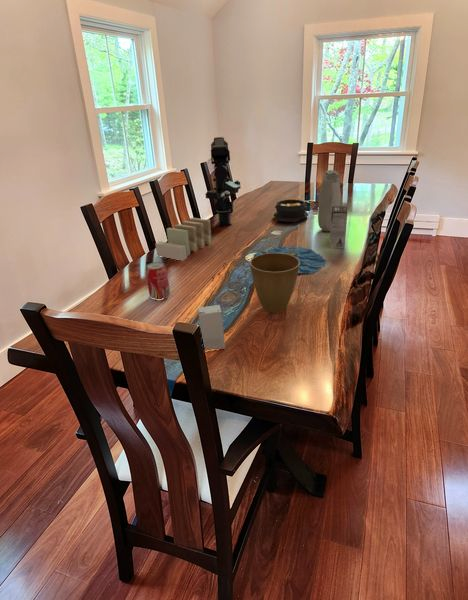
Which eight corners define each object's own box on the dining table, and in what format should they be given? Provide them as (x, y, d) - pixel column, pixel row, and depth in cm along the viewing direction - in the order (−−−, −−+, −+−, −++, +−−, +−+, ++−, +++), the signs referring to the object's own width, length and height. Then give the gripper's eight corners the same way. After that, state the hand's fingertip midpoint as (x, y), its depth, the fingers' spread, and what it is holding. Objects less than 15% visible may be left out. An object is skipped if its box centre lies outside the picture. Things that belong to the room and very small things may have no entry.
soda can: (151, 293, 141) (145, 262, 136) (171, 292, 142) (166, 260, 136) (149, 302, 135) (143, 270, 130) (169, 301, 135) (165, 268, 130)
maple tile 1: (194, 240, 191) (192, 217, 186) (211, 243, 186) (209, 219, 181) (192, 241, 189) (189, 218, 184) (209, 244, 185) (207, 221, 179)
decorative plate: (330, 254, 171) (331, 242, 168) (320, 282, 145) (321, 269, 143) (263, 246, 179) (263, 235, 177) (242, 272, 154) (242, 259, 152)
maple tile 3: (180, 247, 183) (177, 224, 178) (197, 250, 178) (195, 226, 173) (177, 248, 181) (174, 225, 176) (195, 252, 176) (192, 228, 171)
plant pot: (245, 316, 124) (243, 268, 116) (259, 295, 136) (258, 250, 129) (292, 322, 119) (293, 273, 111) (302, 300, 131) (304, 254, 124)
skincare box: (223, 341, 112) (220, 303, 106) (225, 350, 108) (222, 311, 102) (201, 344, 111) (197, 306, 105) (203, 353, 107) (199, 314, 101)
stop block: (161, 254, 176) (159, 241, 173) (186, 259, 169) (185, 245, 166) (157, 256, 174) (155, 243, 171) (182, 261, 167) (180, 248, 164)
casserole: (303, 226, 202) (304, 209, 198) (268, 224, 208) (267, 208, 204) (312, 212, 223) (312, 197, 219) (279, 211, 229) (279, 196, 225)
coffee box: (329, 241, 180) (331, 205, 172) (344, 241, 179) (347, 205, 171) (329, 248, 172) (332, 211, 164) (345, 248, 171) (348, 211, 163)
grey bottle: (340, 233, 189) (345, 172, 176) (319, 234, 189) (322, 173, 176) (336, 226, 198) (340, 168, 185) (315, 227, 198) (318, 169, 185)
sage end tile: (172, 251, 179) (169, 227, 174) (190, 254, 174) (187, 230, 169) (169, 252, 177) (166, 229, 172) (187, 256, 172) (184, 231, 167)
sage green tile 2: (187, 243, 187) (185, 220, 182) (205, 246, 182) (202, 223, 177) (185, 245, 185) (182, 222, 180) (202, 248, 180) (200, 224, 175)
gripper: (224, 180, 169) (227, 216, 176) (246, 172, 183) (248, 206, 190) (203, 179, 175) (206, 214, 182) (226, 171, 189) (228, 204, 196)
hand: (223, 209), depth 187 cm, fingers closed
